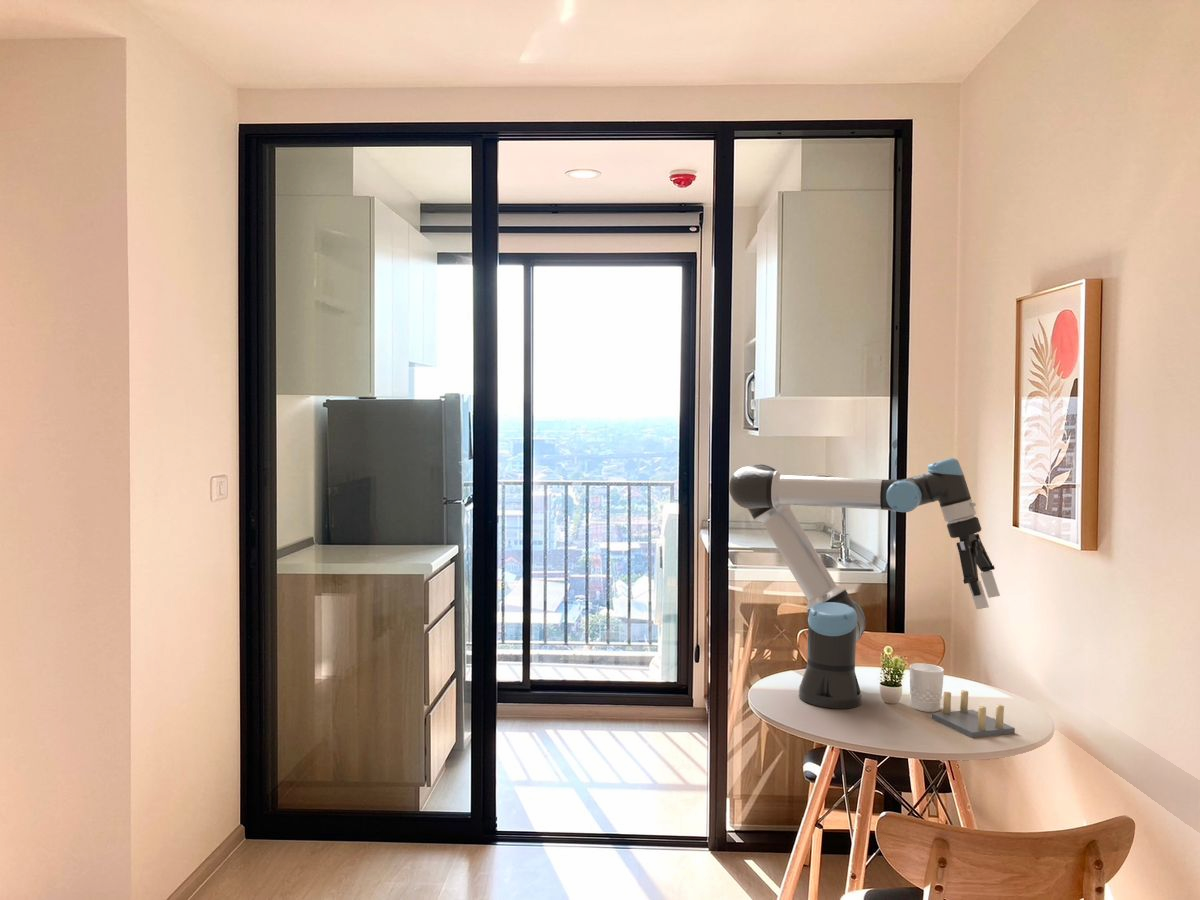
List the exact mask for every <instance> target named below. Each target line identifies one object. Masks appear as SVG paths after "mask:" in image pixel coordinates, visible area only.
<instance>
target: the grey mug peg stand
mask: <svg viewBox="0 0 1200 900" xmlns="http://www.w3.org/2000/svg"><path fill="white" fill-rule="evenodd" d="M951 706H952V692H950V691H943V707H942V708H943V710H942V711H941V712H931V719H932V720H933V721H936V722H938V723H940V724H943V725H945V726H947V727H948V728H951V729H952V730H955V731H956V732H959V733H961V734H963V735H965V736H967V737H969V738H973V739H974V738H975V739H976V738H982V737H983V738H985V737H992V736H993V737H995V736H1001V735H1010V734H1012V735H1013V734H1016V733H1015V732H1016V728H1015V727H1014V726H1011V725H1010V724H1007V723H1004V717H1005V716H1004V715H1005V714H1004V713H1005V706H1004V705H1002V704H996V706H995V718H992V717H991V716H988V715H987V707H985V706H981V705H979V706H978V707H977V710H978V711H976V710H974V709H969V691H968V690H964V689H962V690H961V691H960V706H959V707H960V708H959V709H960V710H955V711H954V710H953V711H951V709H952V708H951Z"/></svg>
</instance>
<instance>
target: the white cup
mask: <svg viewBox="0 0 1200 900" xmlns="http://www.w3.org/2000/svg"><path fill="white" fill-rule="evenodd" d="M944 673H945V669H944V667H941V666H938V665H936V664H932V663H931V664H930V663H924V662H919V663H916V662H915V663H911V664H909V694H910V706H911V707H912V708H913V709H914V710H918V711H921V712H927V713H938V712H940V710H941V700H942V694H943V685H944V675H945V674H944Z"/></svg>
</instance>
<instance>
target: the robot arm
mask: <svg viewBox="0 0 1200 900" xmlns="http://www.w3.org/2000/svg"><path fill="white" fill-rule="evenodd" d="M728 485H729V486H728V489H729V490H728V491H729V494H730V497H731V499H732V501H734V502H735V503H736V504H737V505H738V506H740V507H741V508H744V509H747V510H748V512H749V513H750V514H751V516H752V519H753V520H754V521H755V522H758V523H762V524H763V526H764V527H765V530H766V532H767V533H768V535H769V536H770V539H772V541H773V543H774V545H775V546H776V548H777V550H778V553H779V554H780V555H781V557H782V558H783V560H784V562H785V564H786V565H787V567H788V569H789V571H790V573H791V574H792V575H793V577H794V580H796V582H797V584H798V586H799V588H800V589H801V591H802V592H803V595H804V596H805V597H806V599H807V604H806V607H805V608H806V611H807V612H808V617H807V623H808V627H807V629H808V630H807V655H806V656H807V659H806V660H807V662H806V669H805V671H804V674H803V677H802V679H801V682H800V684H799V687H798V697H799V698H800V700H801V701H804V702H805V703H807V704H810V705H813V706H817V707H822V708H827V709H837V710H838V709H839V710H840V709H853V708H857V707H859V706H860V705H861V704H862V692H861V689H860V685H859V681H858V678H857V675H856V651H857V649H856V648H857V642H858V641H859V640H860V639H861V638H862V637H863V635H864V632H865V629H866V617H865V613H864V612H863V611H864V610H863V609H862V608H861V606H860V605H859V604H858V603H856V601H854V600H853V599H852V598H851V596H850V594H849V593H848V591H847V590H846V587H842V586H840V585H837V584H836V582H835V581H834V579H833V577H832V576H831V574H830V572H829V570H828V569H827V567H826V566H825V564H824V562H823V560H822V559H821V557H820V555H819V554H818V552H817V550H816V549H815V547H814V545H813V543H812V542H811V540H810V539H809V537H808V536H807V534H806V532H805V530H804V529H803V527H802V525H801V524H800V522H799V520H798V518H797V517H796V515H795V513H794V512H793V510H792V509H791V506H804V507H806V506H807V507H826V508H842V509H843V508H844V509H845V508H846V509H862V510H863V509H867V510H883V511H891V512H899V513H910V512H912V511H914V510H915V509H917V508H918V507H920V506H922V505H923V506H924V505H926V504H930V503H935V502H937V501H938V503H939V507H940V510H941V514H942V516H943V520H944V522H946V523H947V525H946V527H947V530H948V534H949V537H950V538H952V539H957V538H959V542H956V548H957V551H958V554H959V561H960V565H961V570H962V576H963V583H964V584H965V585H966V584H968V587H969V590H970V593H971V597H972V599H973V604H974V606H975V609H976V610H981V609H987V608H990V607H989V602H988V600H987V598H986V597H988V599H990V598H995V597H996V598H997V597H1000V596H1001V595H1000V591H999V588H998V585H997V582H996V579H995V576H994V573H993V571H994V570H995V568H996V567H995V565H994V564H993V563H992V561H991V558H990V557H989V554H988V552H987V551H986V549H985V548H986V547H985V546H984V544H983V542H982V540H981V537H980V532H981V531H982V527H981V524H980V519H979V517H978V516H975V515H976V514H977V511H976V509H975V507H976V502H973V500H972V496H971V494H970V491H969V487H968V483H967V481H966V477H965V475H964V473H963V470H962V467H961V465H960V462H959V460H958V459H956V458H954V457H951V458H948V459H945V460H940V461H937V462H934V463H930V464H928V465H927V472H925V473H923V474H919V475H916V476H915V475H914V476H911V477H907V478H903V479H883V478H881V479H879V478H856V477H855V478H854V477H836V476H814V475H813V476H812V475H809V476H808V475H807V476H806V475H788V474H787V475H784V474H781V473H780V472H779V471H778V470H776V468H774V467H772V466H769V465H768V464H767V465H766V464H761V463H760V464H754V465H746V466H743V467H740V468H738V469H737V470H736V471H735V472H734V473H733V474H732V475H731V478H730V480H729V484H728ZM978 570H980V573H979V574H978ZM979 575H980V576H981V580H982V581H981V580H979ZM982 583H983V585H984V586H983V585H982ZM983 588H985V590H984V589H983ZM985 593H986V594H987V596H986V594H985Z"/></svg>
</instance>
